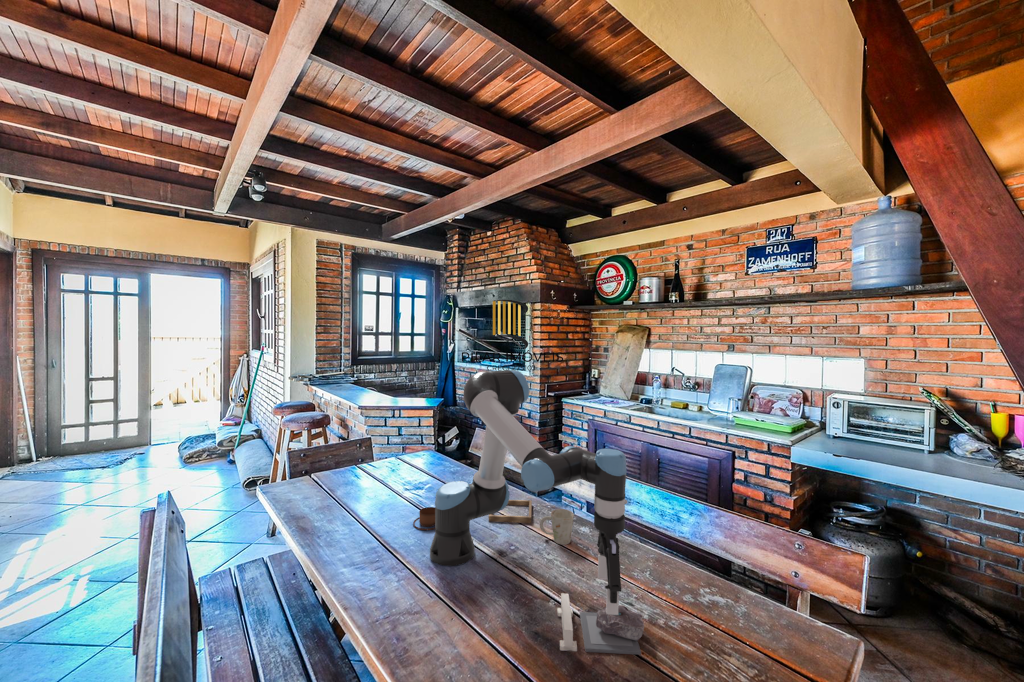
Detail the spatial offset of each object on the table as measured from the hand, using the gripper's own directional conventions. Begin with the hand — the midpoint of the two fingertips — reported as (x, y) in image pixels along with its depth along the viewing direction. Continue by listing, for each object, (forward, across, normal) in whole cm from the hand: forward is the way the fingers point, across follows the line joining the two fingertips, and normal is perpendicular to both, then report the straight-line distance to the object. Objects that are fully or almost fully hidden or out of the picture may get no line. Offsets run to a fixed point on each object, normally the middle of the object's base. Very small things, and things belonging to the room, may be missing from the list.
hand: (607, 595), depth 105 cm
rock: (+10, +1, 0) cm, 10 cm away
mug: (+11, +46, +11) cm, 49 cm away
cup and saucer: (+12, +54, +60) cm, 82 cm away
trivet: (+10, 0, 0) cm, 10 cm away
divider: (+10, 0, +10) cm, 14 cm away
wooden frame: (+11, +66, +29) cm, 73 cm away
